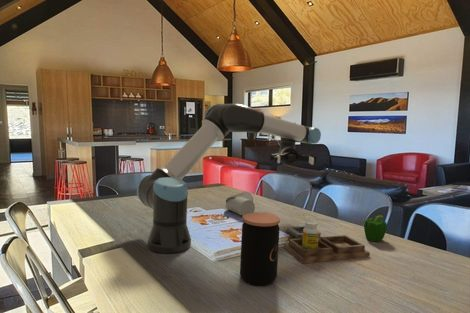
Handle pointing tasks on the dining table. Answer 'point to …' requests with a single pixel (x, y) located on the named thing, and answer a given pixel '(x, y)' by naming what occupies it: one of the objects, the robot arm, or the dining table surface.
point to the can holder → (297, 231)
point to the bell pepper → (375, 229)
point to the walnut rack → (327, 249)
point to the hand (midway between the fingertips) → (295, 160)
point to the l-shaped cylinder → (241, 203)
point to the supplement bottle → (310, 235)
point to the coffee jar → (259, 248)
